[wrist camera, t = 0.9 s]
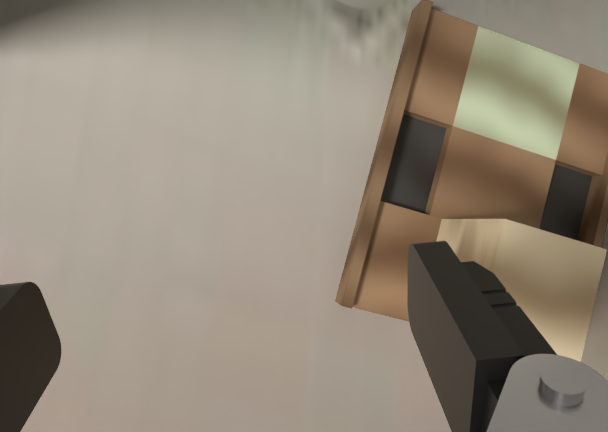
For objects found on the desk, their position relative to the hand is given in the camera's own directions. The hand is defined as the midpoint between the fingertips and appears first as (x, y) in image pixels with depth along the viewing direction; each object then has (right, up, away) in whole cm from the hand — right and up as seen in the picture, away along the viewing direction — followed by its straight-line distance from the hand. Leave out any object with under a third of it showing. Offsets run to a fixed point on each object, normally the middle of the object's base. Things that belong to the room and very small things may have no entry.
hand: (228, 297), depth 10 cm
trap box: (+16, +4, +27) cm, 31 cm away
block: (+14, -3, +25) cm, 29 cm away
